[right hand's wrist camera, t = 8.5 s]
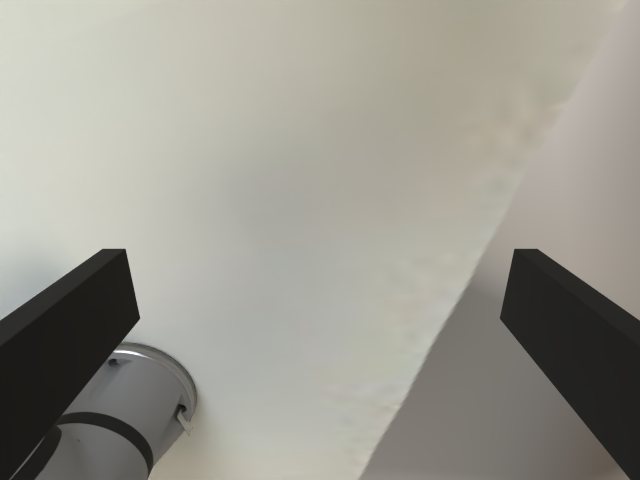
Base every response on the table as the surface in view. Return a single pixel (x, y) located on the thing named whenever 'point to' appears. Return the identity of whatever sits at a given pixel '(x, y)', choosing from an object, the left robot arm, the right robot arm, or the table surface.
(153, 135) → the table surface
